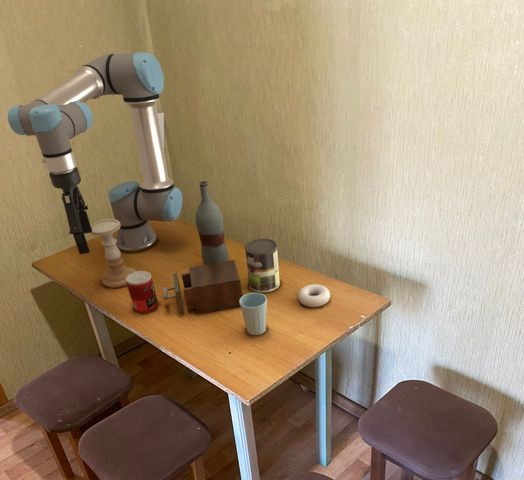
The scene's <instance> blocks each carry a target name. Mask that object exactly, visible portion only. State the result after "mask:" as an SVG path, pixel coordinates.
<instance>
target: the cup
mask: <svg viewBox="0 0 524 480" xmlns="http://www.w3.org/2000/svg"><path fill="white" fill-rule="evenodd" d="M267 301H268V299H267V296H266V295H265V294H263V293H260V292H249V293H246V294H244V295H242V297H241V298H240V301H239V302H240V306H239V307H240V310H241V313H242V317H243V321H244V324H245V325H244V326H245V328H246V332H247V334H249V335H250V336H260V335H262V334H264V333H266V329H267V304H268V303H267Z"/></svg>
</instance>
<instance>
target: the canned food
mask: <svg viewBox="0 0 524 480" xmlns="http://www.w3.org/2000/svg"><path fill="white" fill-rule="evenodd" d="M126 283H127V285H126V286H127V290H128V293H129V296H130V300H131V303H132V307H133V309H134V310H135V312H138V313H141V314H145V313H146V314H147V313H150V312H153V311H154V310H156V309H157V308H158V305H159V302H158V298H157V297H158V296H157V293H156V289H155V285H154V281H153V277H152V274H151V272H149V271H146V270H136V272H133V273H131V274H129V275H128V276H127V277H126Z"/></svg>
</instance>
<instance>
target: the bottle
mask: <svg viewBox="0 0 524 480" xmlns="http://www.w3.org/2000/svg"><path fill="white" fill-rule="evenodd" d="M198 184H199V190H200V196H201V197H200V198H201V200H200V202H199V205H198V207H197V209H196V211H195V216H194V217H195V226H196V229H197V232H198V237H199V241H200V252H201V253H200V254H201V260H202V263H203V265H206V264H212V263H218V262H224V261H229V251H228V248H227V244H226V242H225V241H226V240H225V229H224V223H225V222H224V218H223V217H224V216H223V214H222V211H221V208H220V207H219V206H218V205H217V204H216V203H215V202H214V201H213V199H212V198H211V196H210V190H209V185H208V184H209V183H208V181H207V180H203V181H199V183H198Z"/></svg>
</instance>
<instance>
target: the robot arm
mask: <svg viewBox="0 0 524 480" xmlns="http://www.w3.org/2000/svg"><path fill="white" fill-rule="evenodd" d="M164 84H165V77H164V72H163V70H162V67H161V64H160V62H159V60H158V59H157V58H156V57H155V56H154V54H152V53H149V52H141V51H135V52H125V53H124V52H123V53H107V54H103V55H100V56H98V57H96V58H93V59H92V60H90V61H88V62H87V63H85V64H83V65H81V66H79V67H78V68H77V69H76V71H75V72H74V75H73V76H70V78H68V79H66V80H64V81H63V82H61V83H60V84H58V85H56V86H55V87H53V88H52V89H51V90H49V91H47V92H46V93H44V94H43V95H41V96H39V97H38V98H36V99H34V100H32V101H30V102H29V103H28V104H25V105H22V104H18V105H13V106H11V107H10V108H9V109H8V112H7V121H8V124H9V126H10V128H11V131H13V132H14V133H15V134H17V135H20V136H27V137H31V136H35V137H36V140H37V143H38V145H39V149H40V151H41V155H42V157H43V158H42V159H41V162H42V163H43V164H45V167H46V170H47V171H48V172H49V173H48V175H49V179H50V182H51V185H52V186H53V188H55V189H58V190H59V189H60V190H62V194H61V200H62V203H63V206H64V207H63V208H64V210H65V214H66V215H65V216H66V220H67V223H68V227H69V231H68V234H69V235H73V239H74V242H75V245H76V247H77V250H78V253H79V255H86V254H90V253H91V251H90V248H89V245H88V242H87V239H86V235H85V234H91V232H92V228H91V225H92V224H91V222H90V218H89V215H88V212H87V211H88V210H89V206H88V205H86V202H85V200H84V197H83V195H82V193H81V190H80V188H79V184H80V183H81V182H82V177H81V174H80V171H79V169H78V167H77V166H78V165H77V160H76V158H75V157H76V156H75V153H74V151H73V149H72V145H71V142H70V140H72V139H73V138H75V137H77V136H79V135H81V134H83V133H85V132H86V131H87V130H88V129H90V128H91V126H92V125H93V122H94V115H93V113H92V110H91V108H90V107H89V106H88V105H87V104H86V103H87V102H88V101H90V100H97V99H99V98H101V97H102V96H110V95H113V96H114V95H116V96H117V95H118V96H120V95H121V96H122V100H123V103H124V104H125V105H126V106H128V107H129V112H130V116H131V121H132V126H133V132H134V136H135V142H136V146H137V153H138V157H139V161H140V167H141V173H142V178H143V180H142V183H141V184H140V183H139V182H138V181H136V180H130V181H129V180H128V181H124V182H121V183H118V184H117V185H114V186H113V187H111V188H110V189H109V191H108V199H109V204H110V207H111V210H112V214H113V217H114V218H113V219H115V220H118V221H119V222H120V223H121V227H120V229H119V230H117V231H116V240H117V242H116V245H117V247H118V249H119V250H120V252H124V253H139V252H142V251H145V250H148V249H150V248H152V247H153V246H155V244H157V241H158V239H157V235H156V233H155V231H154V229H153V228H152V226H151V224H150V221H152V222H153V221H155V222H163V223H166V222H174V221H176V220H177V219H178V218H179V216H180V214H181V211H182V208H183V194H182V191H181V190H180V188H178V187H175V184H174V180H172V179H171V178H170V177H169V175H168V167H167V162H166V161H167V160H166V155H165V150H164V143H163V138H162V132H161V126H160V125H161V124H160V121H159V113H158V108H157V103H158V102H159V100H160V94H161V93H162V92H163V91H164V87H165V85H164Z"/></svg>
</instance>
